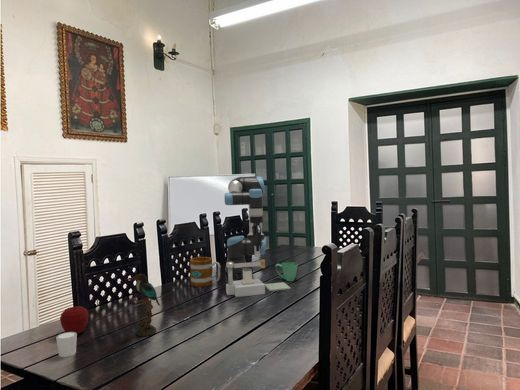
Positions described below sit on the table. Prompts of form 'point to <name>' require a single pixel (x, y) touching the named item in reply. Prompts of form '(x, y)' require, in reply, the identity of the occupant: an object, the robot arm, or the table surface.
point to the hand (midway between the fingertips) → (257, 256)
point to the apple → (74, 319)
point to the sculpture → (148, 293)
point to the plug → (247, 276)
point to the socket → (243, 287)
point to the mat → (277, 286)
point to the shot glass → (66, 344)
